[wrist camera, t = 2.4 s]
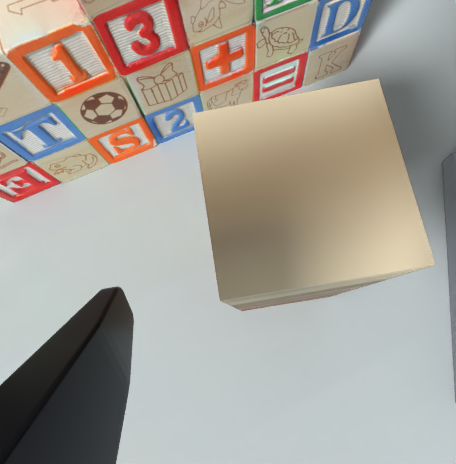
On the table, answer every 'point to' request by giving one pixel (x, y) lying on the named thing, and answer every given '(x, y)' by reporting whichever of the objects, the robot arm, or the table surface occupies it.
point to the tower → (307, 196)
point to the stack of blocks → (147, 73)
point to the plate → (451, 240)
